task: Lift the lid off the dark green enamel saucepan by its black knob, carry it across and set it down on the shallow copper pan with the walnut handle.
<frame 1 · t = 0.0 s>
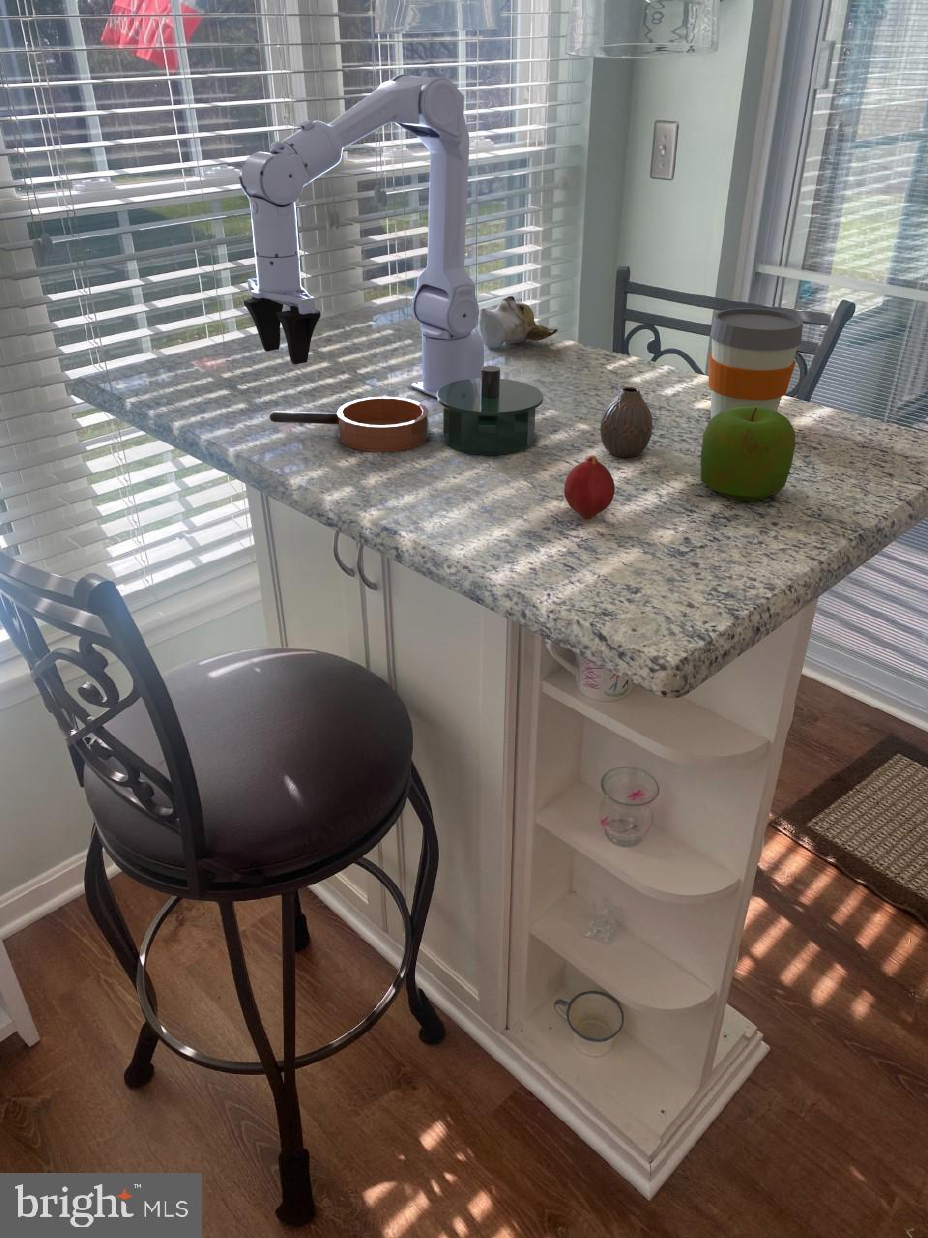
hand: (285, 356, 136), 10 cm above the countertop, tool pointing down, fingers open, 7 cm apart
vase: (623, 453, 134), on the countertop
pan handle: (306, 417, 138), point 2 cm above the countertop
apple: (739, 492, 124), on the countertop
reusable coffee cup: (741, 422, 146), on the countertop
pot: (488, 438, 138), on the countertop
ceramic sculpture: (510, 344, 180), on the countertop
pan: (383, 435, 139), on the countertop
lid: (489, 397, 135), point 6 cm above the countertop, touching pot
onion: (586, 519, 116), on the countertop
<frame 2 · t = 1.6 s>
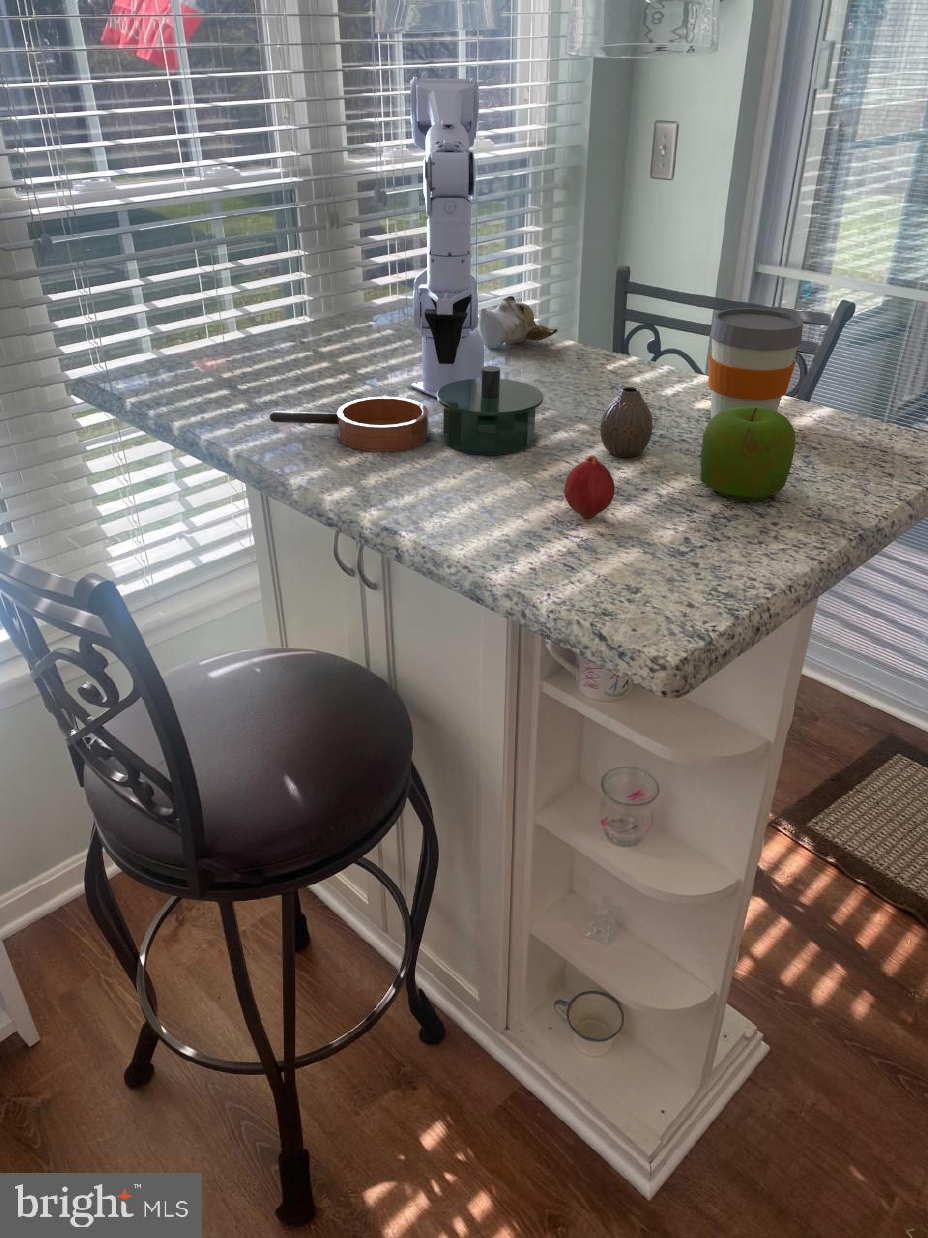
hand: (448, 355, 136), 10 cm above the countertop, tool pointing down, fingers open, 7 cm apart
nothing on the countertop moved.
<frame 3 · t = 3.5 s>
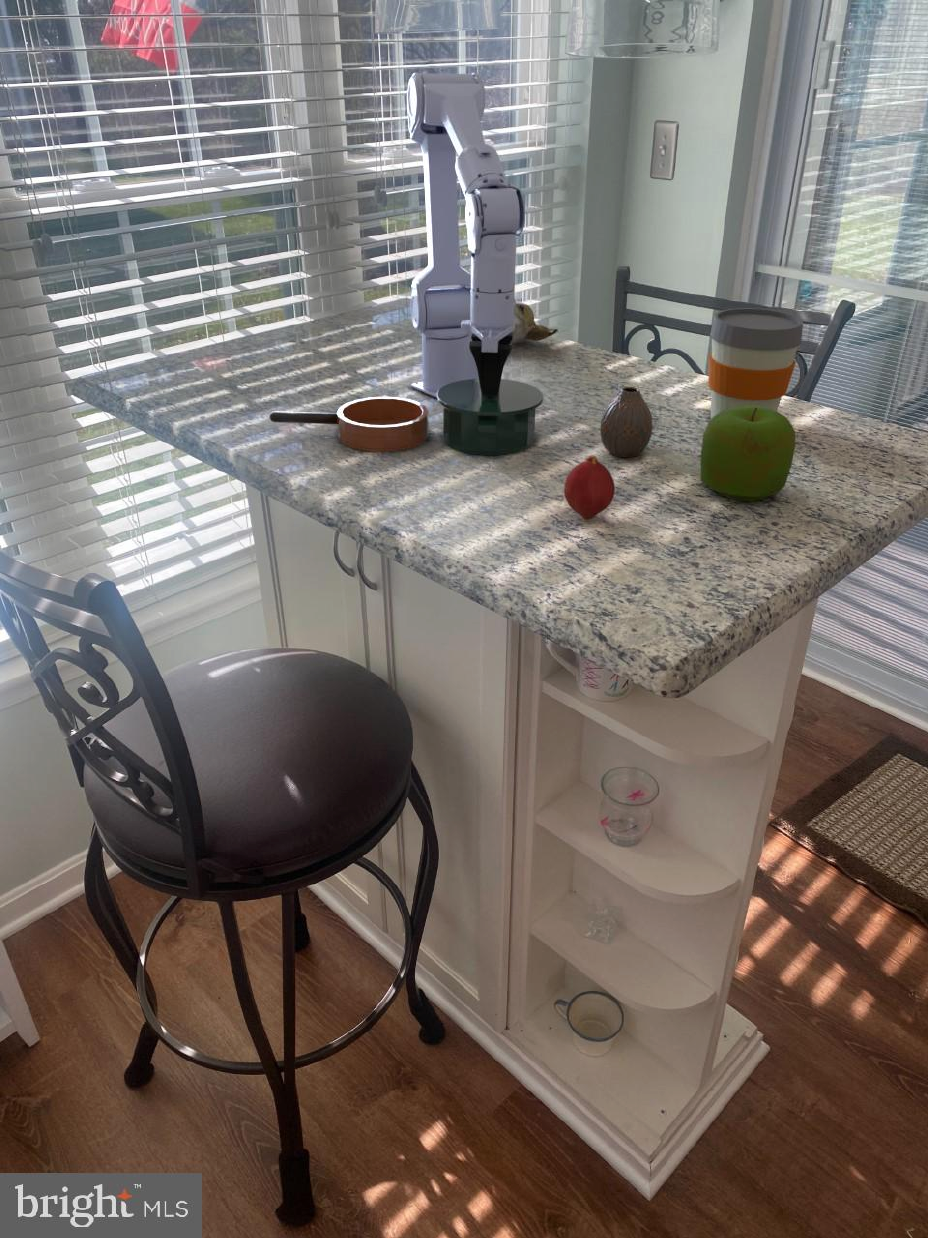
hand: (490, 390, 135), 7 cm above the countertop, tool pointing down, fingers closed on lid, 2 cm apart
lid: (489, 397, 135), point 6 cm above the countertop, touching gripper, pot
everything else where it was.
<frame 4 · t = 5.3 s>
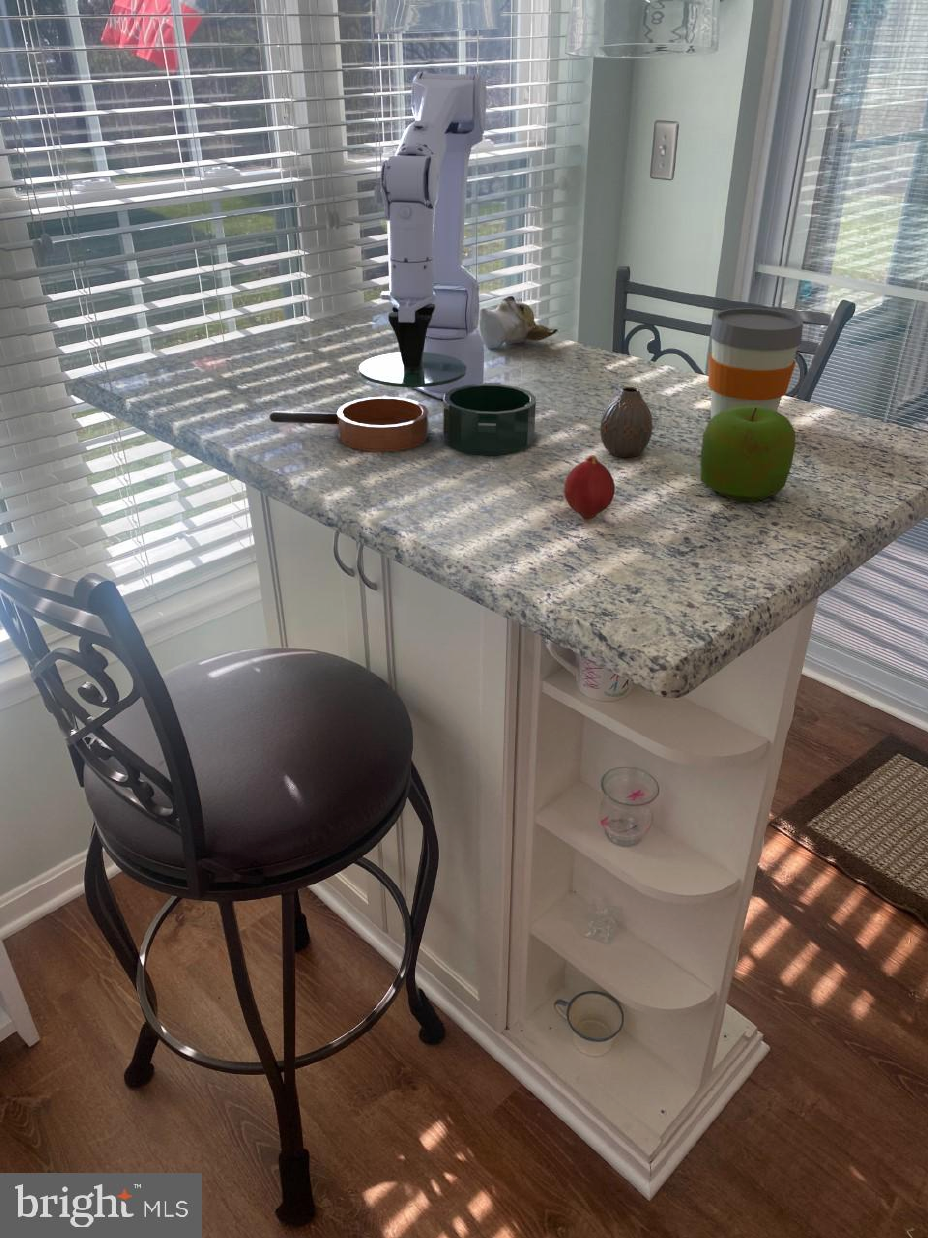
hand: (412, 363, 133), 10 cm above the countertop, tool pointing down, fingers closed on lid, 2 cm apart
lid: (413, 370, 134), point 9 cm above the countertop, touching gripper
everything else where it was.
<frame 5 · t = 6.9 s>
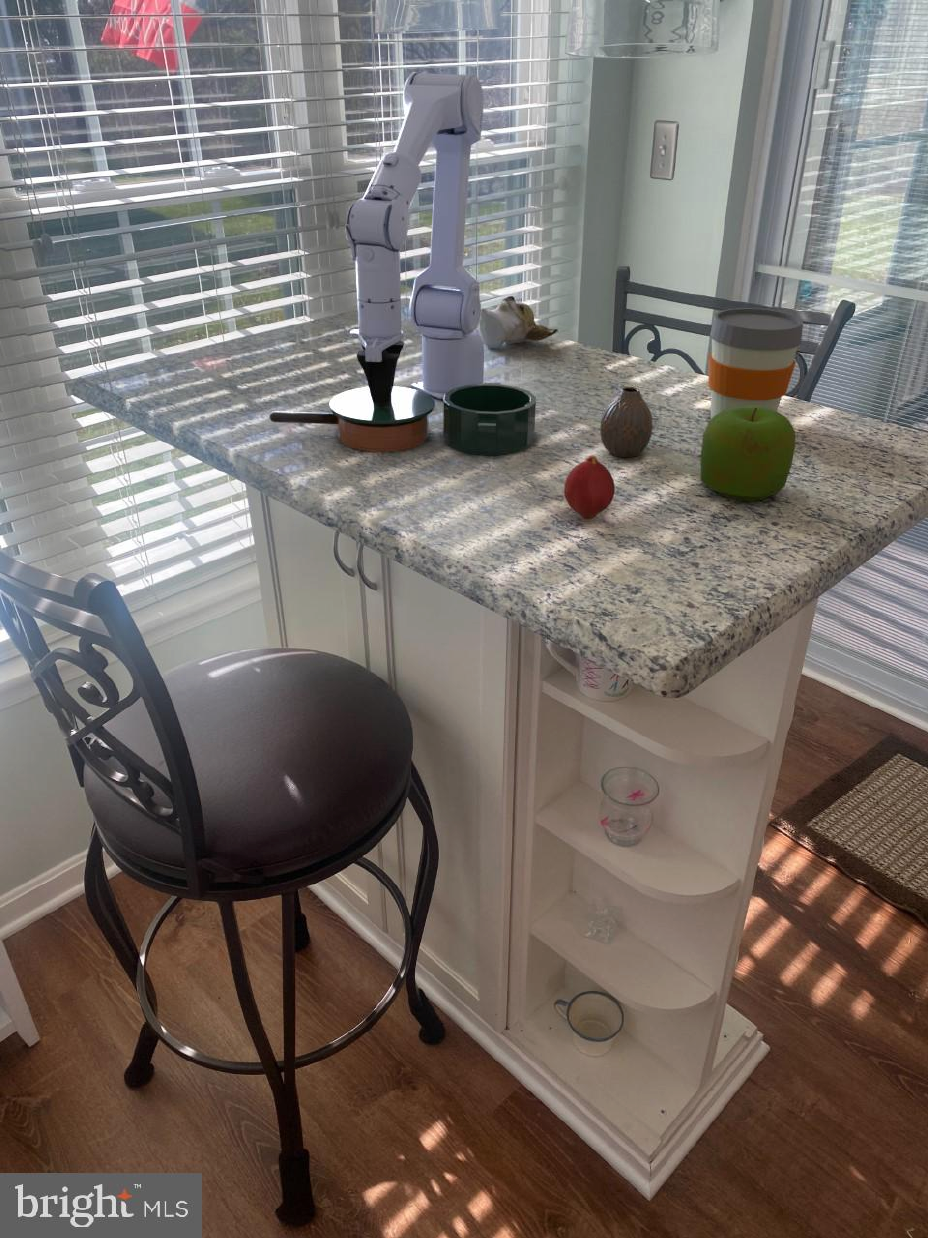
hand: (382, 398, 136), 5 cm above the countertop, tool pointing down, fingers closed on lid, 2 cm apart
lid: (382, 405, 137), point 4 cm above the countertop, touching gripper
everything else where it was.
when the fingers open (4 cm above the countertop, at t = 7.4 s): lid stays where it is, resting on pan.
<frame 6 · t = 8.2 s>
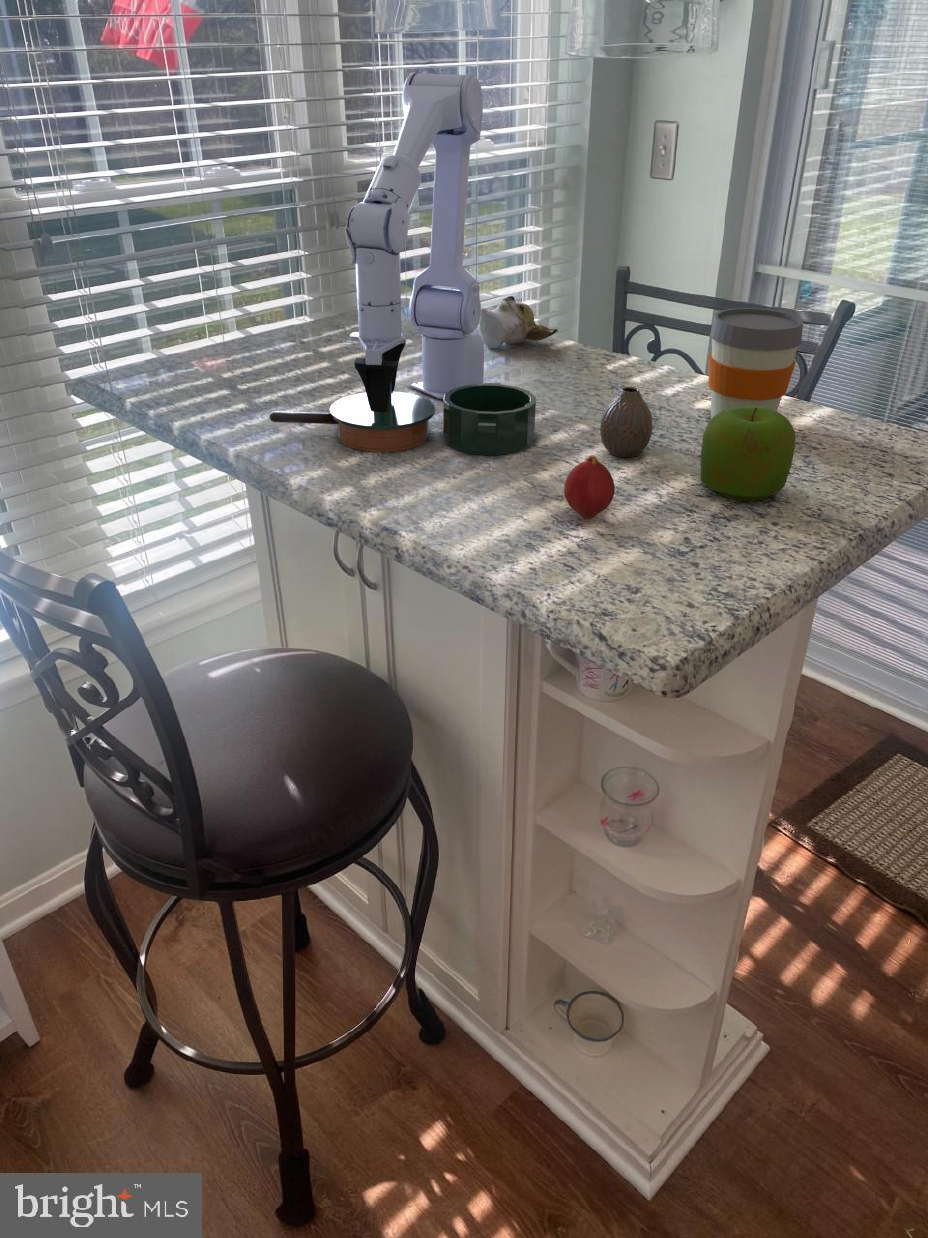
hand: (382, 401, 136), 5 cm above the countertop, tool pointing down, fingers open, 7 cm apart
lid: (382, 411, 137), point 3 cm above the countertop, touching pan
everything else where it was.
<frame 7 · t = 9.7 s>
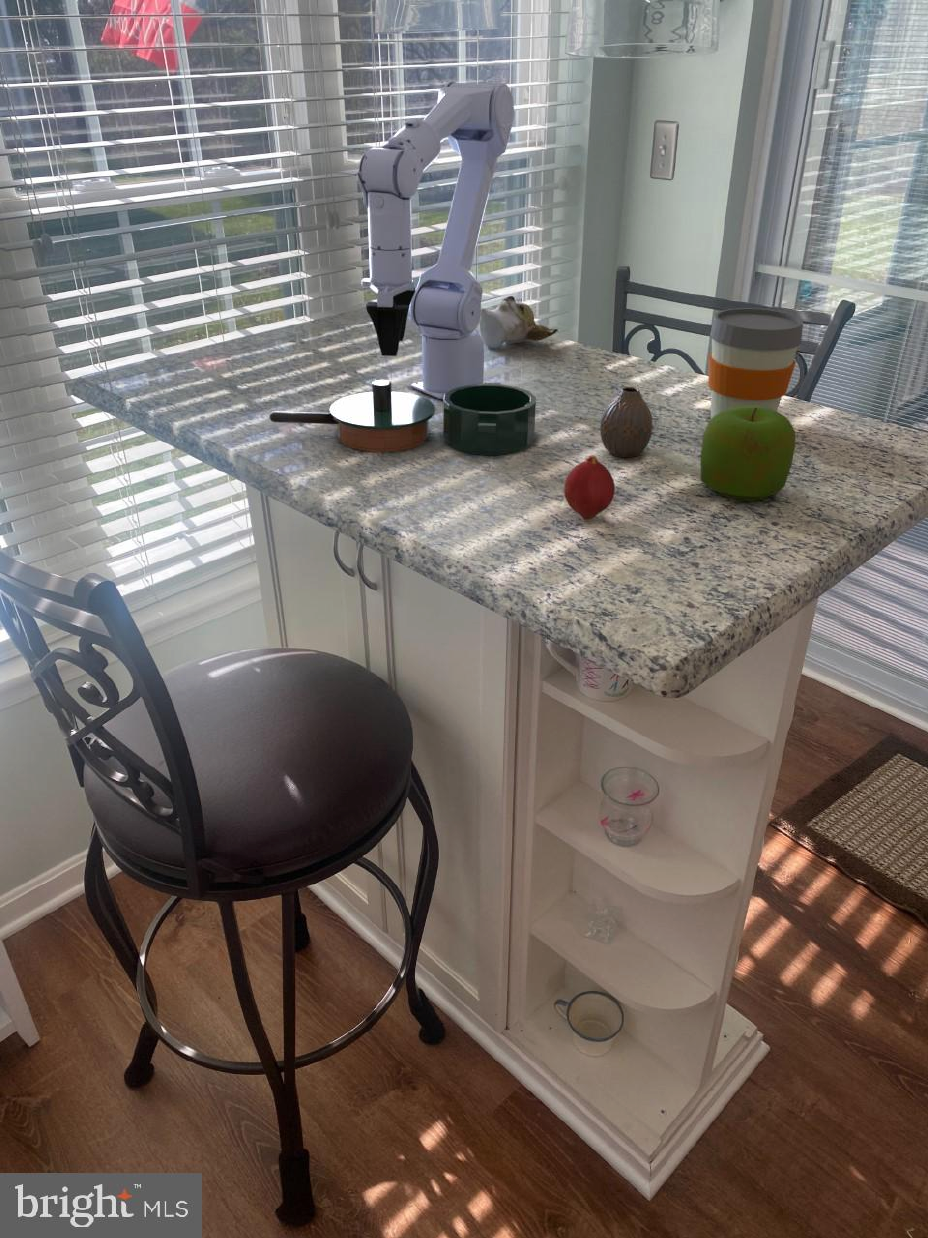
hand: (392, 347, 140), 10 cm above the countertop, tool pointing down, fingers open, 7 cm apart
nothing on the countertop moved.
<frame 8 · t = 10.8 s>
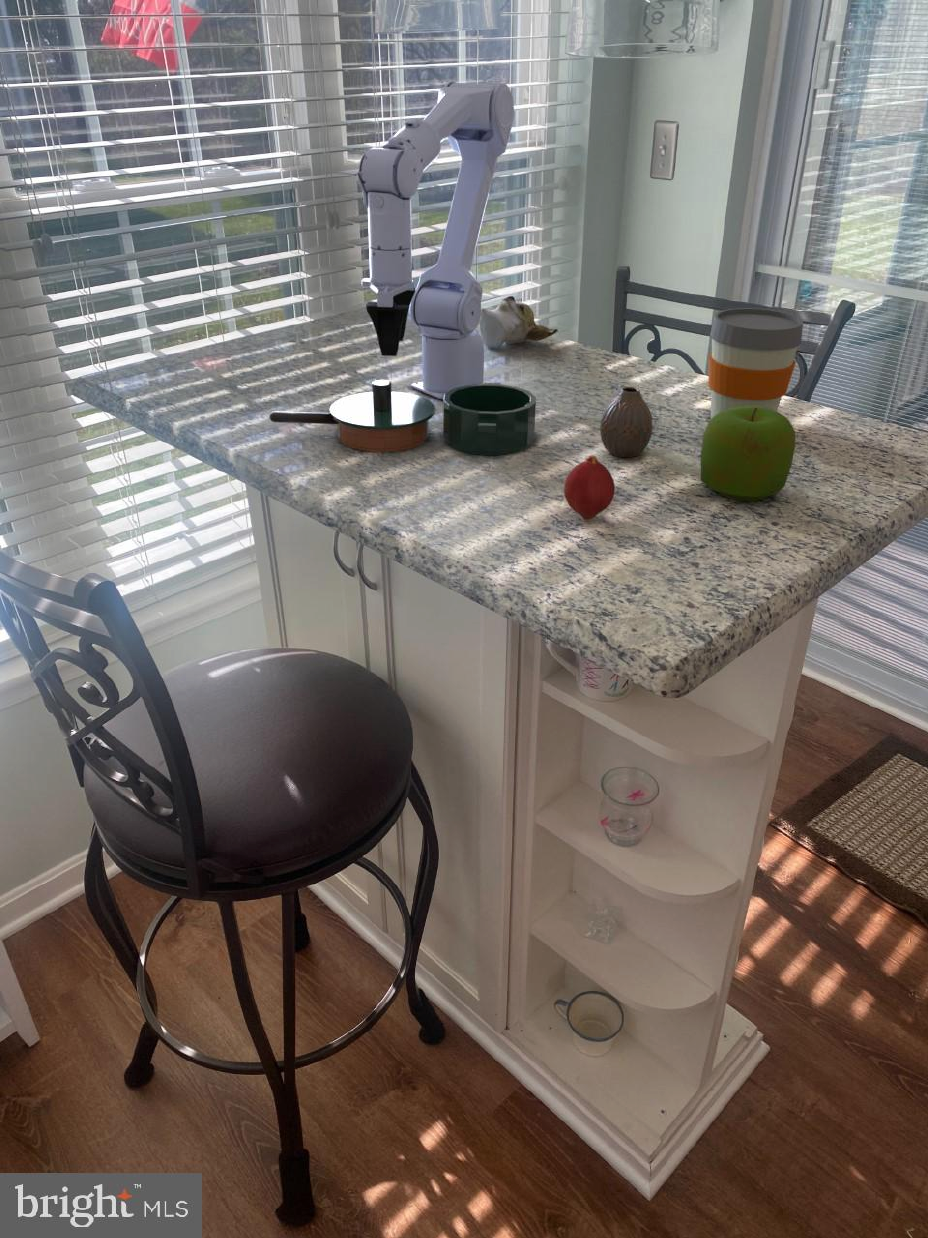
hand: (392, 347, 140), 10 cm above the countertop, tool pointing down, fingers open, 7 cm apart
nothing on the countertop moved.
at the end: lid 0.0 cm off-centre on the pan, point 3.5 cm above the pan's base; lid tilted 0°; lid moved 15.1 cm from its start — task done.
